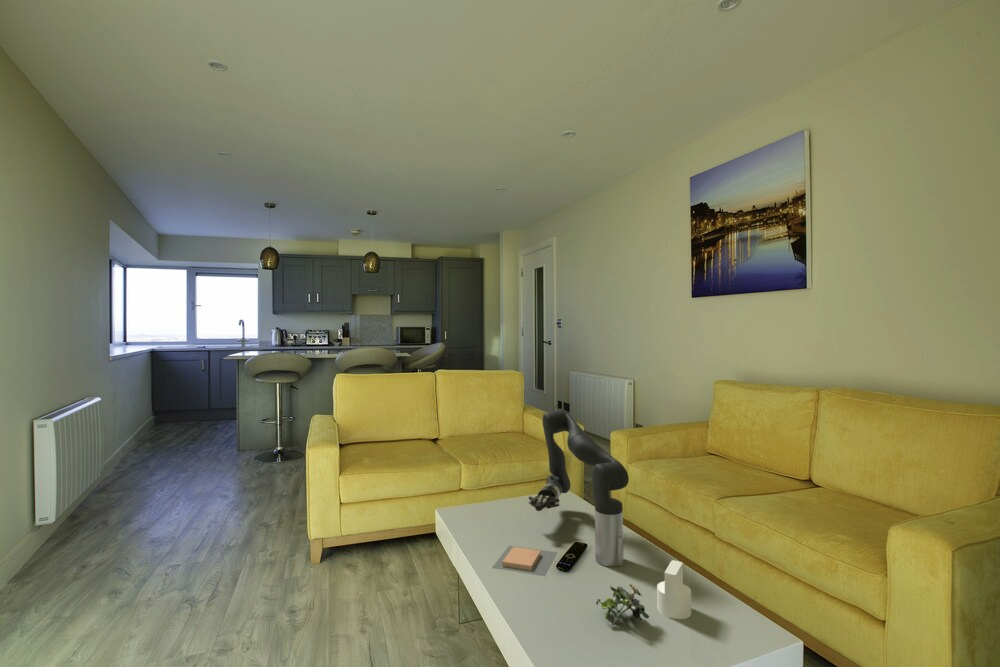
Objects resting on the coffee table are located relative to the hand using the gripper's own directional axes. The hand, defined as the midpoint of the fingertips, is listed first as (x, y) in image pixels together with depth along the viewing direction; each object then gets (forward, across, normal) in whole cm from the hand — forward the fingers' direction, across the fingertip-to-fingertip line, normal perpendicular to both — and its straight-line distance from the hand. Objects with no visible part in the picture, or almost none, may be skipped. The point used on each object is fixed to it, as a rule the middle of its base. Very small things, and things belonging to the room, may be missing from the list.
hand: (538, 508), depth 188 cm
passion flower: (+43, +35, +14) cm, 57 cm away
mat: (+17, 0, +12) cm, 21 cm away
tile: (+12, -1, +11) cm, 17 cm away
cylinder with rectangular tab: (+33, +48, +14) cm, 60 cm away
